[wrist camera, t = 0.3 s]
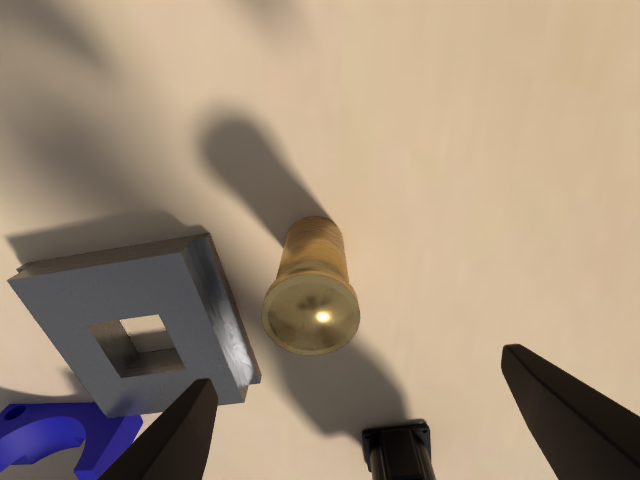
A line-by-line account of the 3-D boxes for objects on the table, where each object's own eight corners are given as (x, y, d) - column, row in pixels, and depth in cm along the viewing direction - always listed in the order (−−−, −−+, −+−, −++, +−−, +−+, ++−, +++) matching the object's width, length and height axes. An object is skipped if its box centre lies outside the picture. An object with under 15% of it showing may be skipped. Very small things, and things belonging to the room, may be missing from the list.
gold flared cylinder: (351, 266, 22) (365, 348, 15) (289, 275, 23) (274, 360, 16) (342, 206, 20) (353, 269, 13) (274, 218, 21) (249, 284, 14)
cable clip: (31, 432, 31) (-30, 503, 26) (11, 402, 29) (-60, 472, 24) (148, 430, 31) (111, 502, 26) (135, 400, 29) (92, 470, 24)
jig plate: (261, 375, 27) (256, 401, 25) (114, 393, 28) (96, 419, 26) (209, 233, 21) (196, 249, 19) (26, 263, 22) (-8, 282, 20)
